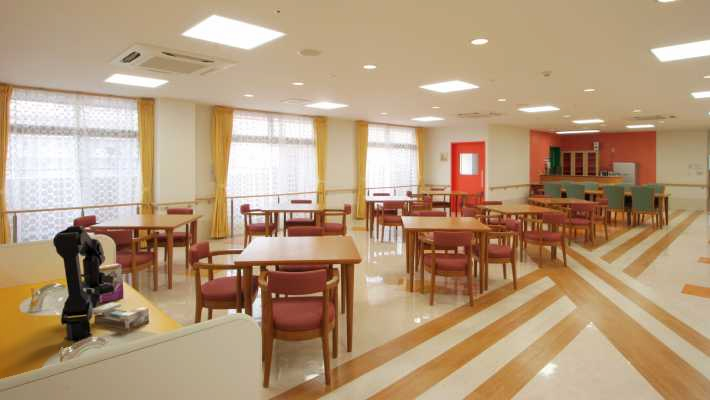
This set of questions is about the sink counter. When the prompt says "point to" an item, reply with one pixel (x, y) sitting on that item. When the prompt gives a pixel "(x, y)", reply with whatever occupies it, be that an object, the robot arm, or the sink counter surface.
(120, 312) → the teal rectangular block
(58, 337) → the sink counter surface
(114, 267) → the candy bar box
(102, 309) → the sliding cap
